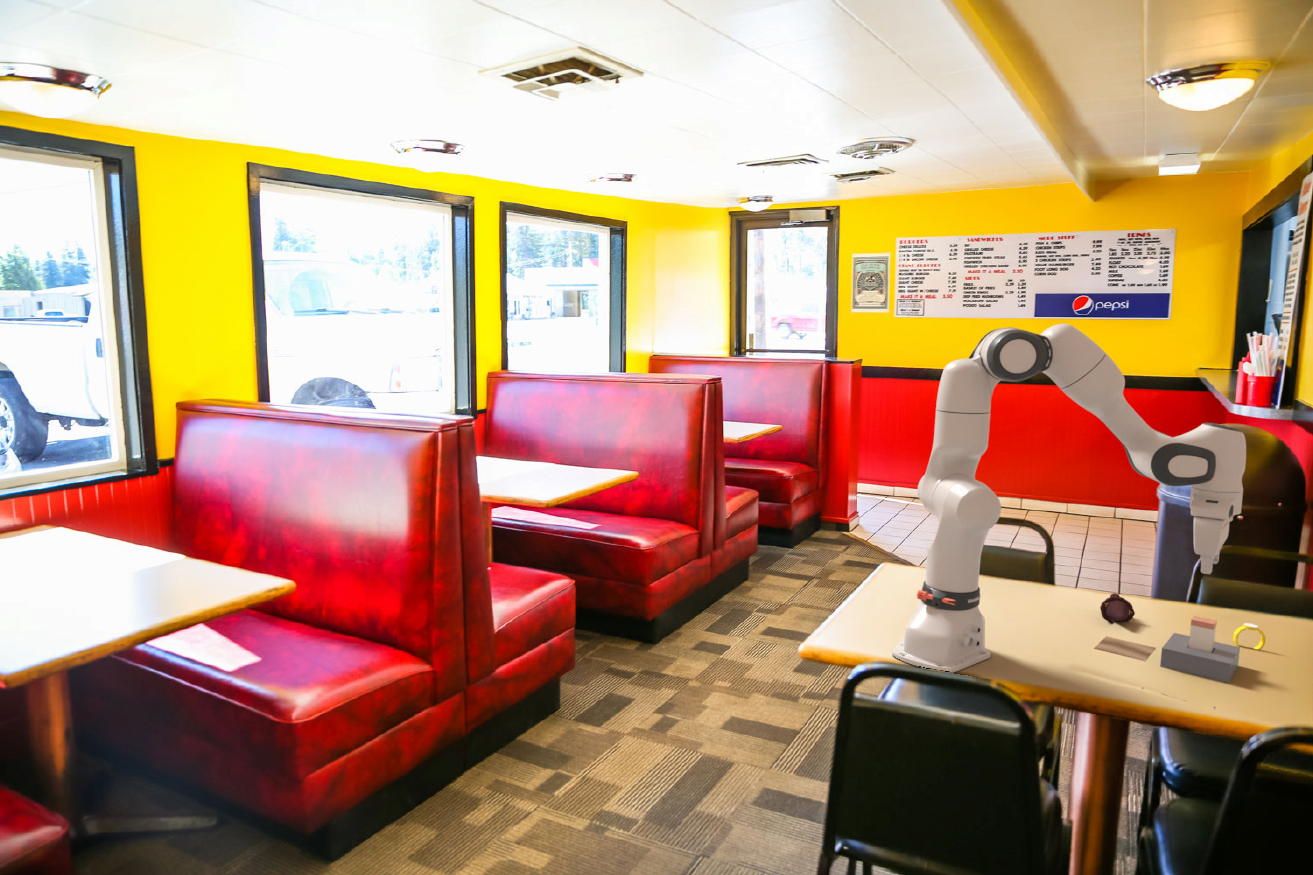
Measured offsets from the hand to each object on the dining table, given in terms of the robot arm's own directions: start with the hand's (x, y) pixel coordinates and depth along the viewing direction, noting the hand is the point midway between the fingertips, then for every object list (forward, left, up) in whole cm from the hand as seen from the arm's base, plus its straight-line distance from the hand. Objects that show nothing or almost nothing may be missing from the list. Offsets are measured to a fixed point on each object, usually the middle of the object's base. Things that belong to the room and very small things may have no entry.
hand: (1209, 567), depth 174 cm
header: (-1, 0, -22) cm, 22 cm away
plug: (-1, 0, -21) cm, 21 cm away
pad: (-1, +14, -22) cm, 26 cm away
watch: (+20, -6, -22) cm, 31 cm away
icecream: (+18, +20, -22) cm, 35 cm away
